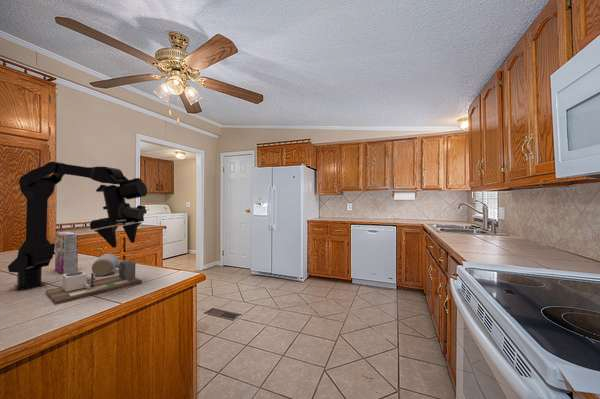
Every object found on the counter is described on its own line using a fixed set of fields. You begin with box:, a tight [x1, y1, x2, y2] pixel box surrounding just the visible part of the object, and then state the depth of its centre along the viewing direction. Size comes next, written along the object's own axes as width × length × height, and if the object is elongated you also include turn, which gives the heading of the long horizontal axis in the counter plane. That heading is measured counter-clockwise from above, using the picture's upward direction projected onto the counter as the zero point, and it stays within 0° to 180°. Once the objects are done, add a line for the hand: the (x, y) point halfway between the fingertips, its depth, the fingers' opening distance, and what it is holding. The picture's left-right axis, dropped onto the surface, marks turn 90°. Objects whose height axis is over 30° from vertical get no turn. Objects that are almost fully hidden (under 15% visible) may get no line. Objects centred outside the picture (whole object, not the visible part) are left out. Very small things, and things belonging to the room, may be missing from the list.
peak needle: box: [90, 272, 94, 288], centre depth 80 cm, size 1×1×5 cm, turn 55°
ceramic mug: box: [91, 253, 120, 277], centre depth 101 cm, size 11×8×8 cm
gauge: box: [61, 270, 97, 292], centre depth 81 cm, size 10×8×5 cm
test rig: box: [45, 259, 143, 305], centre depth 85 cm, size 14×23×7 cm, turn 145°
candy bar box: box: [54, 231, 79, 275], centre depth 103 cm, size 11×5×16 cm, turn 58°
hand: (124, 244), depth 86 cm, fingers open, 9 cm apart
